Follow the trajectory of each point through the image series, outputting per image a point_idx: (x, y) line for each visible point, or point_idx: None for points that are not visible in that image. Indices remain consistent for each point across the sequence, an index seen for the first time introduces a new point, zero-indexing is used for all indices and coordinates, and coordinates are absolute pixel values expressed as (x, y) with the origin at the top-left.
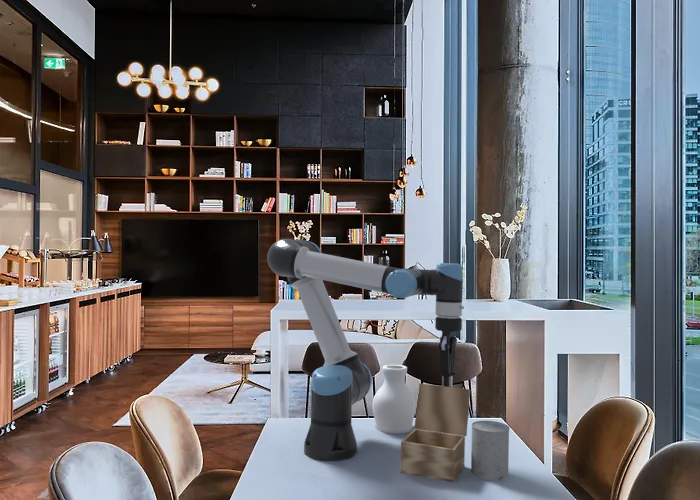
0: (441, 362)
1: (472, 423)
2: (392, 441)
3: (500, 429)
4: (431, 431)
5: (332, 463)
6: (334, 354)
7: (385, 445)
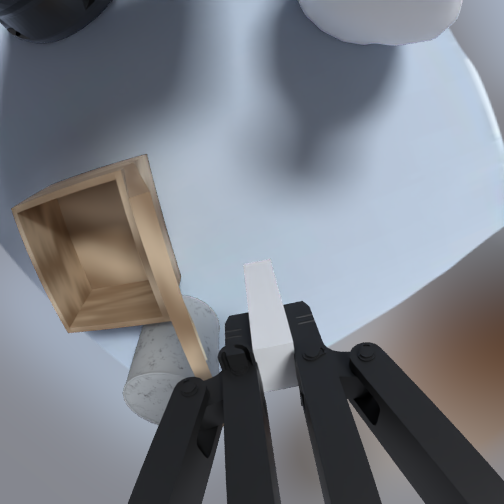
0: (146, 476)
1: (153, 374)
2: (231, 35)
3: None
4: (136, 229)
5: (12, 45)
6: None
7: (185, 38)
